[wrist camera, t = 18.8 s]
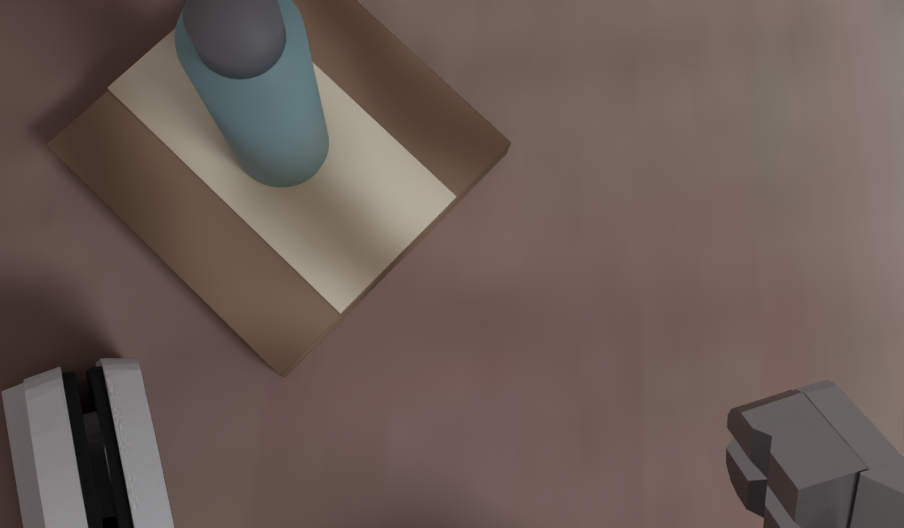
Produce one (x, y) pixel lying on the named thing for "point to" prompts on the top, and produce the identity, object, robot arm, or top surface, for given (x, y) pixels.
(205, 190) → the floor panel
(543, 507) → the top surface
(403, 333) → the top surface
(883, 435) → the robot arm
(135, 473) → the white arched piece
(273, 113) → the peg
